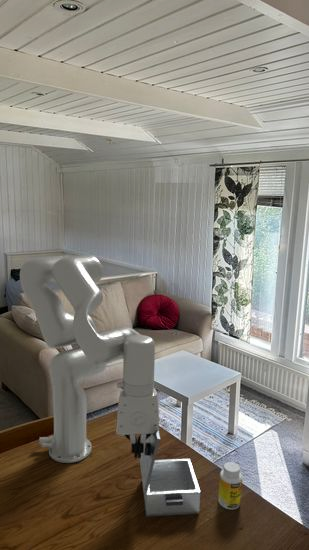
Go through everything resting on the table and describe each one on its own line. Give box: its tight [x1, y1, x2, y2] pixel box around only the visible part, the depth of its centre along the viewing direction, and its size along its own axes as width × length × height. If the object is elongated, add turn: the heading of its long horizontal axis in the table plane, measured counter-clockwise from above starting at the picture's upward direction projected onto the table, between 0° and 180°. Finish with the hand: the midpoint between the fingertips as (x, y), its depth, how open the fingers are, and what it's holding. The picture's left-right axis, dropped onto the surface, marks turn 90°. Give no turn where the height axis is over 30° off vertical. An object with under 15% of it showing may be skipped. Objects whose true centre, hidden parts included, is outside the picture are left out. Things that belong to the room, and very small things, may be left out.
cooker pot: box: [141, 458, 201, 518], centre depth 106 cm, size 13×16×6 cm
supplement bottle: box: [217, 461, 243, 510], centre depth 104 cm, size 6×6×10 cm
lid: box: [139, 430, 161, 495], centre depth 103 cm, size 15×13×2 cm
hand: (137, 454), depth 103 cm, fingers closed
